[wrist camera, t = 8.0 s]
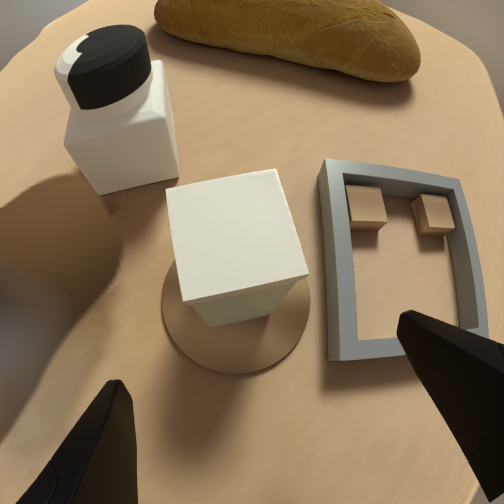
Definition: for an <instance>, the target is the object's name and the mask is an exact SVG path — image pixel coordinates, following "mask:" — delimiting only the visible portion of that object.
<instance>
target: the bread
mask: <svg viewBox="0 0 504 504" xmlns="http://www.w3.org/2000/svg"><path fill="white" fill-rule="evenodd" d="M154 16H155V20H156V21H157V23H158V25H159V26H160V27H161V28H162V29H163V30H165V31H166V32H168V33H169V34H171V35H174V36H176V37H179V38H181V39H185V40H189V41H192V42H196V43H202V44H206V45H210V46H215V47H221V48H229V49H232V50H235V51H240V52H245V53H254V54H257V55H271V56H274V57H277V58H279V59H282V60H287V61H292V62H296V63H300V64H303V65H307V66H311V67H317V68H322V69H335V70H338V71H341V72H343V73H346V74H349V75H352V76H356V77H359V78H362V79H366V80H371V81H379V82H399V81H404V80H407V79H409V78H411V77H412V76H413V75H414V74H415V73H417V71H418V69H419V67H420V60H421V59H420V51H419V48H418V46H417V43H416V40H415V39H414V37H413V35H412V33H411V32H410V30H409V29H408V28H407V26H406V25H405V24H404V22H403V21H402V20H401V19H400V18H399V17H398V16H397V15H396V14H395V13H394V12H393V11H392V10H390V9H389V8H388V7H387V6H385V5H384V4H383V3H381V2H380V1H378V0H158V1H157V3H156V5H155V9H154Z"/></svg>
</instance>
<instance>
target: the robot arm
mask: <svg viewBox="0 0 504 504" xmlns="http://www.w3.org/2000/svg"><path fill="white" fill-rule="evenodd" d="M397 337H398V340H399V342H400V344H401V346H402V347H403V349H404V351H405V353H406V355H407V357H408V359H409V361H410V363H411V365H412V367H413V369H414V371H415V373H416V374H417V376H418V378H419V379H420V381H421V383H422V384H423V386H424V387H425V389H426V390H427V392H428V394H429V395H430V397H431V399H432V400H433V402H434V403H435V405H436V407H437V408H438V410H439V412H440V413H441V415H442V417H443V418H444V420H445V422H446V423H447V425H448V427H449V428H450V430H451V432H452V434H453V435H454V437H455V439H456V441H457V442H458V444H459V446H460V448H461V450H462V451H463V453H464V455H465V457H466V459H467V460H468V463H469V464H470V466H471V468H472V470H473V472H474V474H475V476H476V478H477V480H478V481H479V483H480V485H481V487H482V489H483V491H484V493H485V495H486V497H487V499H488V501H489V502H492V501H493V500H495V499H496V498H497V497H499V496H500V495H502V494H503V493H504V344H501V343H497V342H496V341H493V340H490V339H488V338H485V337H482V336H480V335H477V334H475V333H472V332H469V331H467V330H464V329H461V328H459V327H456V326H453V325H451V324H448V323H446V322H443V321H440V320H438V319H435V318H432V317H430V316H427V315H424V314H422V313H419V312H416V311H414V310H408V311H406V312H403V313H401V315H400V317H399V322H398V327H397ZM16 504H138V491H137V443H136V433H135V423H134V412H133V401H132V397H131V395H130V394H129V392H128V390H127V389H126V387H125V385H124V384H123V382H122V381H121V380H119V379H117V380H109V381H107V382H106V384H105V385H104V386H103V388H102V389H101V390H100V392H99V393H98V394H97V396H96V397H95V398H94V400H93V401H92V402H91V404H90V405H89V406H88V408H87V409H86V411H85V412H84V413H83V415H82V416H81V417H80V419H79V420H78V421H77V423H76V424H75V426H74V427H73V428H72V430H71V431H70V432H69V434H68V435H67V437H66V438H65V439H64V441H63V442H62V444H61V445H60V446H59V448H58V449H57V451H56V452H55V453H54V455H53V456H52V458H51V460H49V462H48V463H47V465H46V466H45V468H44V469H43V470H42V472H41V473H40V474H39V476H38V477H37V479H36V480H35V481H34V482H33V483H32V485H31V486H30V487H29V488H28V490H27V491H26V492H25V493H24V494H23V495H22V497H21V498H20V499H19V500H18V501H17V502H16Z"/></svg>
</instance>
